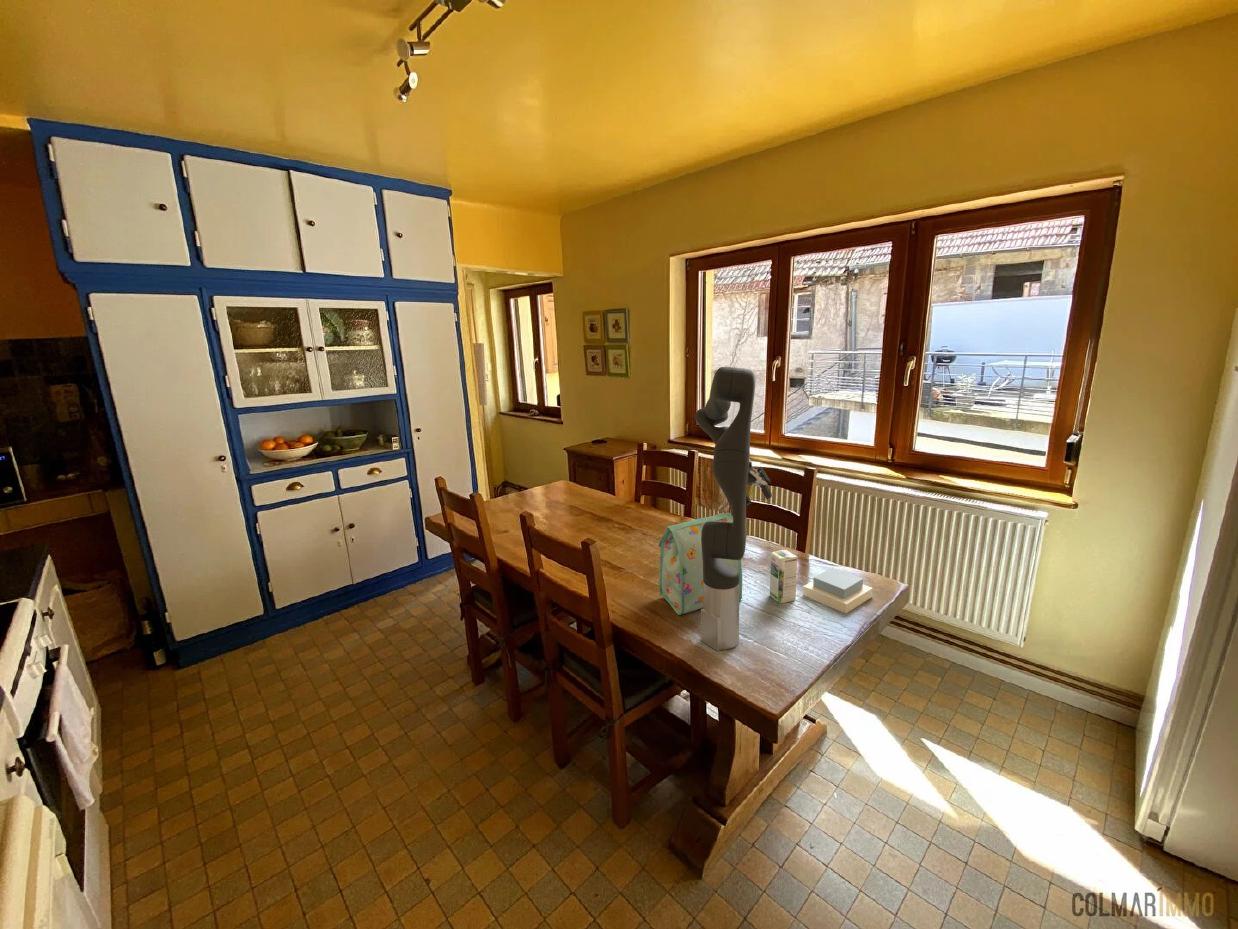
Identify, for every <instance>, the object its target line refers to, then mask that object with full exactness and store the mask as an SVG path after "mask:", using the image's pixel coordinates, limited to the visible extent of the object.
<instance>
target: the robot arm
mask: <svg viewBox="0 0 1238 929" xmlns="http://www.w3.org/2000/svg"><path fill="white" fill-rule="evenodd" d="M755 392H756V374H755V371H754V370H752V369H749V368H742V367H735V366H734V367H733V366H721V367H718V368H717V370H716V371H715V373H714V375H713V378H712V382H711V385H710V391H709V398H708V399H707V402H706V403H705V406H704V407H701V408H700V409H697V410H696V412H695V413H694V414H695V415H694V417H695V422H696V423H697V425H698V426H699V428H700V429H702V430H703V432H705V434H707V435H708V436H709V437H710V438H711V440H712V441H713V444H714V448H713V457H712V458H713V460H712V473H713V476H714V478H715V480H716V482H717V484H718V486H719V487H720V489H721V491H722V492H723V494H724V496H725V497H726V500H727V503H728V505H729V507H730V510H731V515H732V516H733V523H729V522H715V521H708V522H706V523H705V524H704V525H703V528H702V533H701V546H702V559H703V607H704V608H700V631H701V632H700V638H701V639H700V641H701V642H703V643H704V644H706V645H707V646H709V647H711V648H712V649H713V650H715V651H721V650H722V651H723V650H730V649H733V648H736V647H737V645H738V644H739V643H740V600H739V572H738V570H737V569H736V568H734V567H733V566H731V565H729V564H727V563H725V562H723V561H722V560H720V559H730V560H740V559H741V560H742V559H743V557H744V556H745V553H746V543H747V540H746V539H747V506H749V505H750V504H751V503H752V500H751V499H750V496H749V495H748V492H747V491H748V486H751V485H753V486H756V487H758V488H759V489H760V490H761V492H762V494H763V495H764V498H765V499H766V500H770V499H771V498H773V495H772V494H773V493H772V492H771V490H770V488H769V486H768V485H770V483H771V479H770V478H769V476H768V474H767V473H766V471H765V470H764V468H763V467H762V466H759V467H758V468H754V467H753V462H752V461H751V459H750V457H751V456H750V455H751V453H750V452H751V450H750V448H751V446H750V445H751V427H752V426H751V424H752V415H753V407H754V400H755V399H754V398H755V394H756V393H755ZM732 402H733V403H737V404H738V403H739V408H738V412H737V414H736V415H735V418H734V419H733V420H732V422H731V423H730V425H729V426H728V425H727V426H717V425H719V424H722V423H724V422H725V421H727V420H728V418H729V413H728V412H729V411H730V408H731V405H732ZM719 558H720V559H719Z"/></svg>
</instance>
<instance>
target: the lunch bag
mask: <svg viewBox="0 0 1238 929" xmlns="http://www.w3.org/2000/svg"><path fill="white" fill-rule="evenodd" d="M708 521H715V522H729V523H733V514H732V513H730V512H726V513H722V512H719V513H717V514H715V515H711V516H707V517H700V518H695V519H692V520H689V521H684V522H679V523H676V524H673V525H668V526H667V527H666V528H665V530H664V533H663V534H662V536H661V538H660V540H659V542H658V544H657V546H658V547H659V548H660V553H659V572H658V592H659V596H660V597H662V598H663V599H664V600H666V602H667V603H668V604H669V605H670V606H671V608H672V609H673V611H674V612H675V614H677V615H678V616H680V615H683V614H688V613H691V612H694V611H697V610H701V609H702V608H704V607H703V559H702V546H701V533H702V528H703V525H704V524H705V523H706V522H708ZM719 559H720V558H719ZM720 560H722V561H723V562H725V563H727V564H729V565H731V566H733V567H734V568H736V569H737V570H738V572H739V601H742V599H743V568H742V566H743V565H742V559H740V560H730V559H720Z"/></svg>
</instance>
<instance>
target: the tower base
mask: <svg viewBox="0 0 1238 929" xmlns="http://www.w3.org/2000/svg"><path fill="white" fill-rule="evenodd" d="M802 589H803V590H802V596H805V597H807V598H808V599H811V600H814V601H816V602H818V603H820V604H823V605H825V606H828V607H830V608H832V609H834V610H837V611H839V612H841V613H843V614H848V613H849V612H851V611H852V610H854V609H855V608H857V607H859V606H860V605H862V604H863V603H865V602H866V601H868V600H870V599H871V598H873V587H871V586H868V585H865V584H864V578H862V577H859V576H857V575H854V574H852V573H849V572H846V571H842V570H841V569H838V568H834V567H830V568H829V569H827V570H825V571H823V572H821V573H819V574H817V575H816V576H814V577H813V580H812V581H810V582H809V583H808V582H807V583H806V584H805V585H803V588H802Z"/></svg>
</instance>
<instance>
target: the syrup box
mask: <svg viewBox="0 0 1238 929" xmlns="http://www.w3.org/2000/svg"><path fill="white" fill-rule="evenodd" d="M769 571H770V573H769V574H770V576H769V577H770V578H769V596H770V597H771V598H772V599H774V600H775V601H776V602H778V604H784V603H789V602H794V601H796V597H797V596H796V594H797V574H798V556H797V555H795V554H793V553H792V552H790V551H788V550H787V549H781V550H776V551H773V552H771V553H770V570H769Z"/></svg>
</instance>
